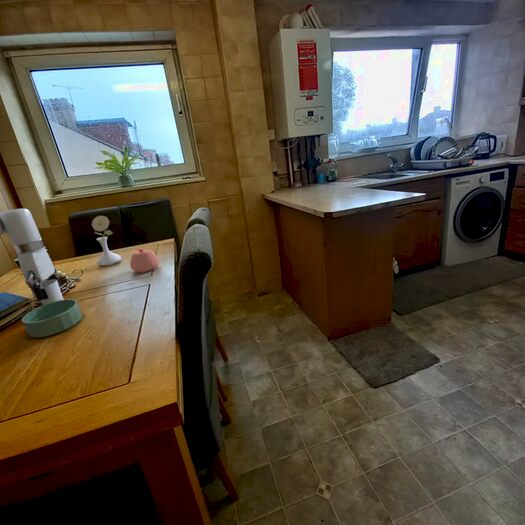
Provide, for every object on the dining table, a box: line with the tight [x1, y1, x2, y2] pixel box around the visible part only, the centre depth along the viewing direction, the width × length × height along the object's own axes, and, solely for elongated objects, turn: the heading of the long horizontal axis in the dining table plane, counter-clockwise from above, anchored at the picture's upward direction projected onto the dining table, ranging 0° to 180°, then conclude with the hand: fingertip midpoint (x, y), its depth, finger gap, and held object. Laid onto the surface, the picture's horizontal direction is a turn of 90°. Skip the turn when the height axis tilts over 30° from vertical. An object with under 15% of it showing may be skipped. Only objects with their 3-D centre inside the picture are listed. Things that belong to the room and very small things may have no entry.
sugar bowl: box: [129, 247, 160, 274], centre depth 127 cm, size 12×14×10 cm
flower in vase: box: [91, 215, 122, 267], centre depth 140 cm, size 13×11×25 cm
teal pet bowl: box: [21, 298, 83, 338], centre depth 87 cm, size 14×14×6 cm
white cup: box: [37, 280, 65, 306], centre depth 98 cm, size 7×7×10 cm
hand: (50, 293), depth 97 cm, fingers open, 9 cm apart
